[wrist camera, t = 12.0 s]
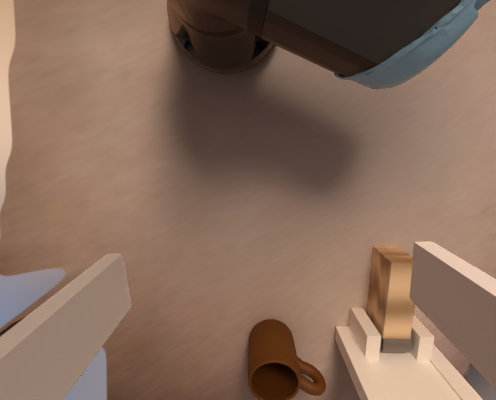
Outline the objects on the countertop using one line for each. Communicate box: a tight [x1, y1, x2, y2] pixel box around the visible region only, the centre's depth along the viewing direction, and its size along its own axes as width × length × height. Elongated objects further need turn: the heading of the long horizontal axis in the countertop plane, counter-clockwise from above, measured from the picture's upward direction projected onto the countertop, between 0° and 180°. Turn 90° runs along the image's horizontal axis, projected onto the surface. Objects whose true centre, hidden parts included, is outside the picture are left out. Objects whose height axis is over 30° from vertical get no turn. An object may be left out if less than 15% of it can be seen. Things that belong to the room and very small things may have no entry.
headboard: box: [335, 307, 483, 400], centre depth 39 cm, size 6×14×16 cm, turn 90°
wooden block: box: [367, 247, 415, 353], centre depth 42 cm, size 14×4×6 cm, turn 0°
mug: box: [248, 320, 326, 400], centre depth 43 cm, size 12×8×9 cm, turn 72°
